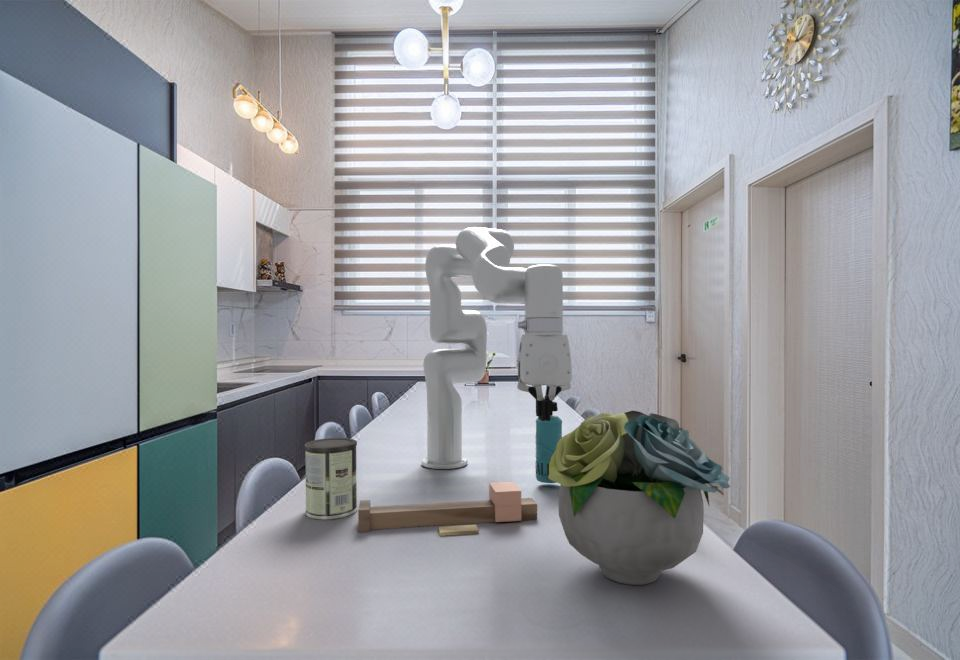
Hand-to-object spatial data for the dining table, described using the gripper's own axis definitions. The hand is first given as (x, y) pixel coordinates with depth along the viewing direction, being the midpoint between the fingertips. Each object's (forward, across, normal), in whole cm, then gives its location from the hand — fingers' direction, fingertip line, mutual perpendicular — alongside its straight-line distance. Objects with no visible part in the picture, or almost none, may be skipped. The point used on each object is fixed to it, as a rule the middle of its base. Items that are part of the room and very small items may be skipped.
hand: (544, 419), depth 111 cm
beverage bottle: (+19, +7, +20) cm, 29 cm away
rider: (+19, -8, 0) cm, 21 cm away
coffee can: (+19, -42, +10) cm, 47 cm away
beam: (+19, -18, 0) cm, 26 cm away
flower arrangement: (+19, +5, -28) cm, 34 cm away
